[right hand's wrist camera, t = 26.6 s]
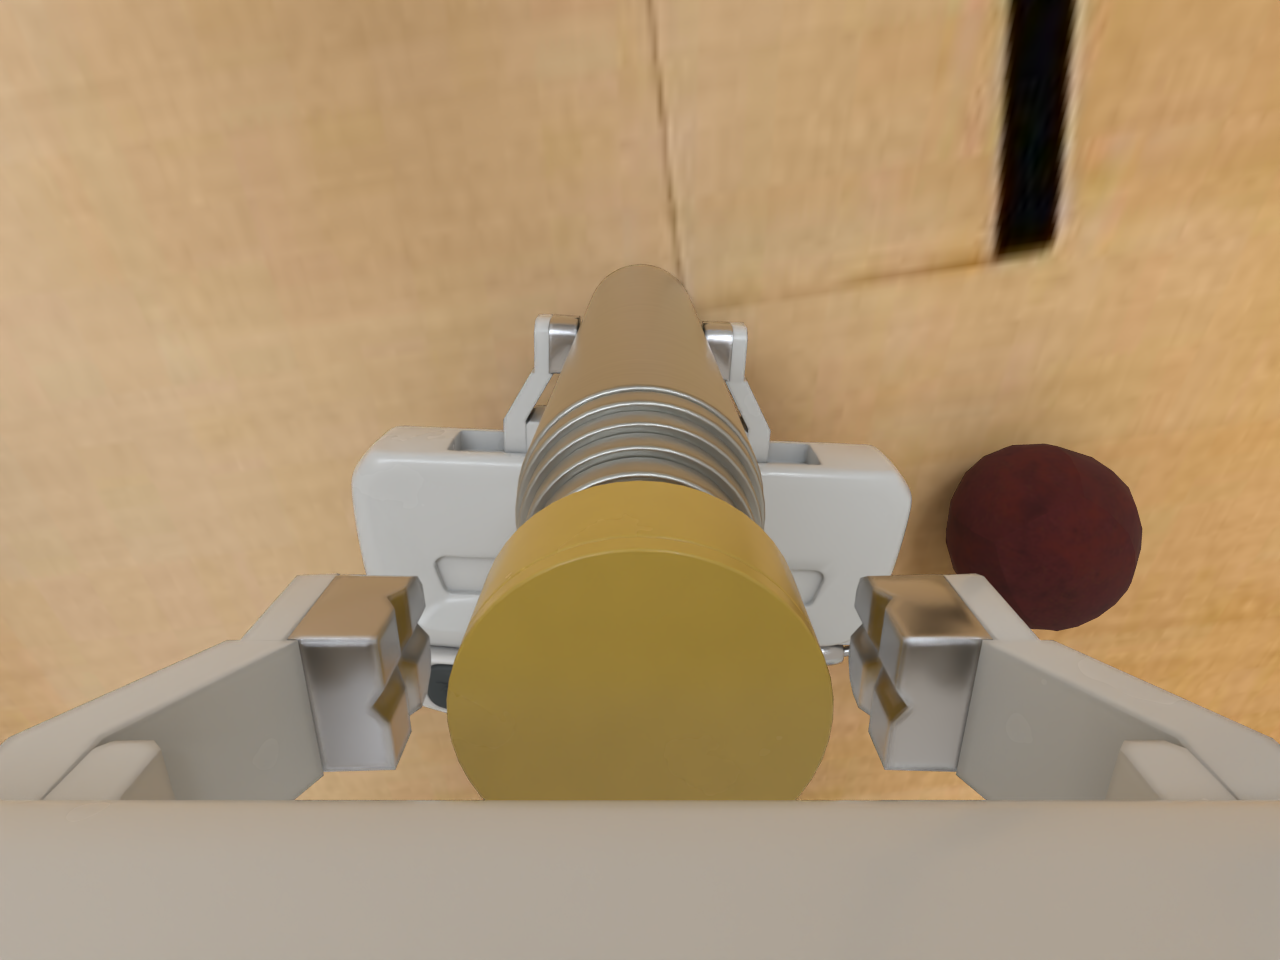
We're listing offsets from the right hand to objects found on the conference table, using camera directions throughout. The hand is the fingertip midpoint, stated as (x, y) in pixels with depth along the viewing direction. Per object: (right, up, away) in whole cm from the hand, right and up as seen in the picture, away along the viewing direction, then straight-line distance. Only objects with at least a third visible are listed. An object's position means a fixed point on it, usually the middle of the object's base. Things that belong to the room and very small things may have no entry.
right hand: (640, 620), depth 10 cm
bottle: (0, +9, +22) cm, 23 cm away
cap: (0, -1, -2) cm, 2 cm away
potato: (+17, +1, +25) cm, 30 cm away
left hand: (0, +7, +16) cm, 18 cm away
